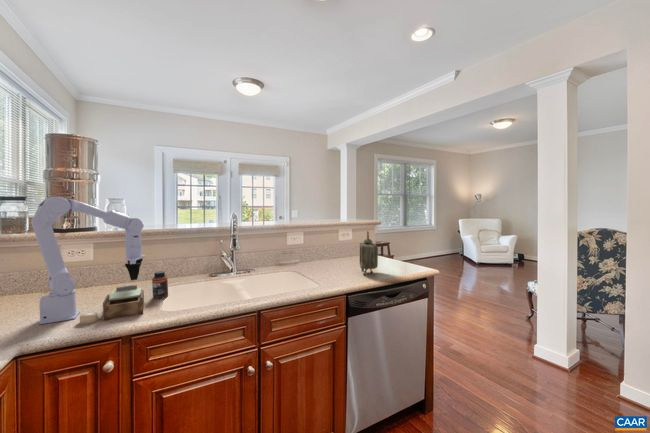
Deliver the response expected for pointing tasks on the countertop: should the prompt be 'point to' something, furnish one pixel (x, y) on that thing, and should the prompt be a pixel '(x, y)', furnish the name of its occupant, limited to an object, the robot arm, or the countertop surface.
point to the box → (123, 307)
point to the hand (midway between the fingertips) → (134, 277)
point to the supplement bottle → (160, 285)
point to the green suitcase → (368, 255)
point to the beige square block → (88, 318)
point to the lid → (125, 292)
